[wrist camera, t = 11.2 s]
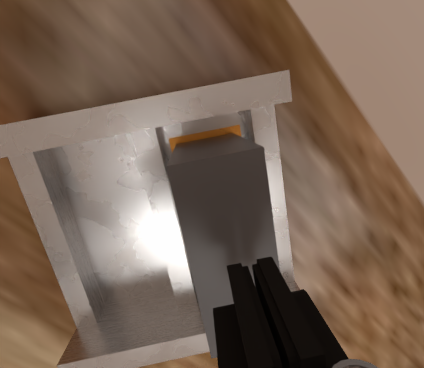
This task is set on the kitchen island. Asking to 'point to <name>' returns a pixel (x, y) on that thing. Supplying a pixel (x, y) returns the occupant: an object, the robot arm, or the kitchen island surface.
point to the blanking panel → (221, 214)
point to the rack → (135, 212)
